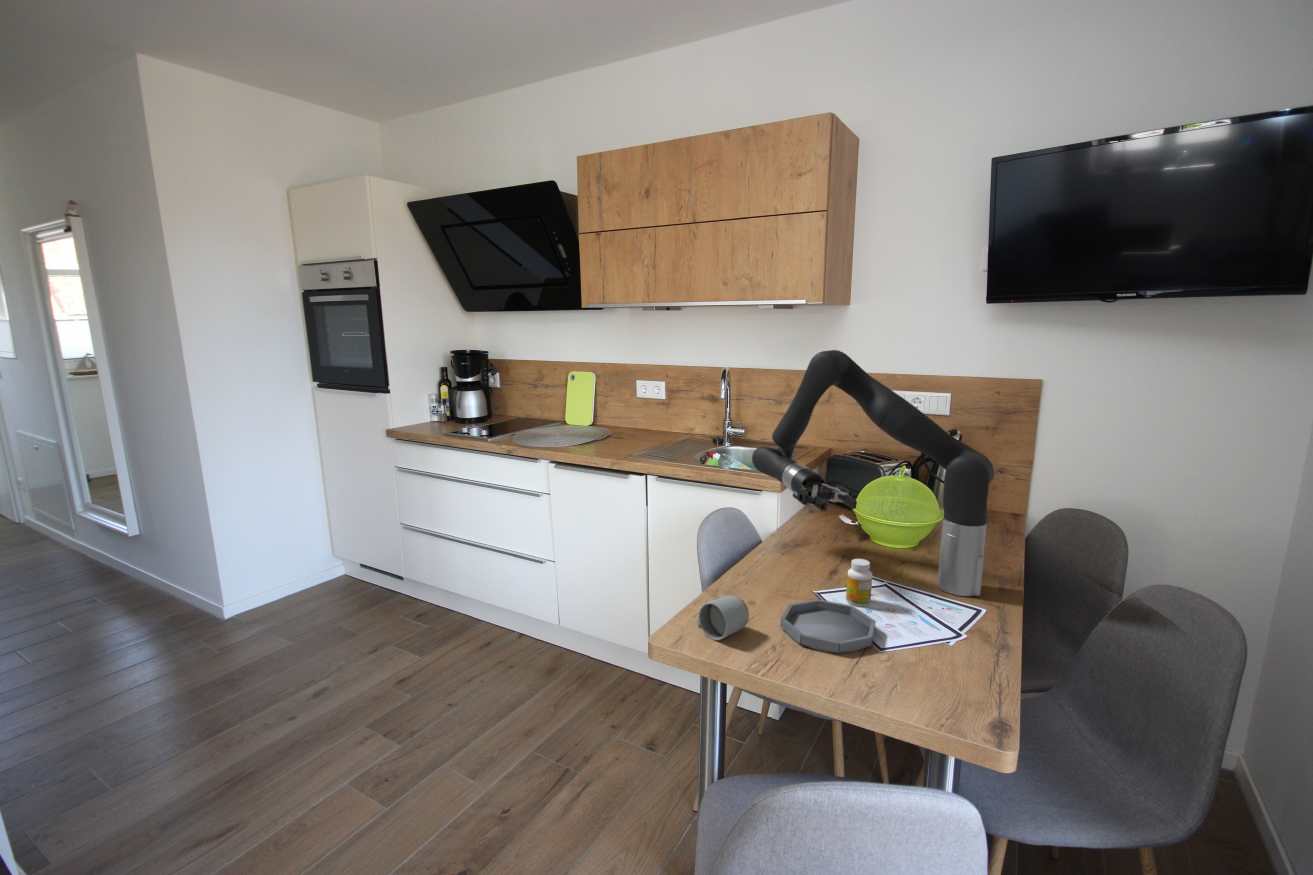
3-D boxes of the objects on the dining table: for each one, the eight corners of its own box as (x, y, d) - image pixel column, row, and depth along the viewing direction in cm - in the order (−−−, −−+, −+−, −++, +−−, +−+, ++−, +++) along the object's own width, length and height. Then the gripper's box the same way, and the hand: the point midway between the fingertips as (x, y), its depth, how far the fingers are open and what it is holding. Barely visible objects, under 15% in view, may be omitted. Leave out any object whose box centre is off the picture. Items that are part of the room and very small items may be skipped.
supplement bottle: (842, 597, 142) (844, 557, 140) (864, 596, 142) (867, 557, 140) (851, 607, 136) (854, 566, 135) (874, 606, 137) (877, 565, 135)
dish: (877, 620, 130) (878, 610, 130) (868, 661, 114) (868, 649, 114) (793, 604, 137) (794, 594, 137) (773, 640, 121) (774, 629, 121)
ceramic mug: (751, 632, 125) (752, 597, 124) (726, 646, 119) (726, 609, 118) (712, 615, 132) (712, 582, 131) (686, 628, 127) (686, 593, 126)
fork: (895, 538, 184) (896, 532, 184) (837, 521, 199) (837, 515, 199) (900, 535, 187) (901, 530, 186) (842, 519, 201) (843, 513, 201)
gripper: (781, 468, 155) (818, 493, 141) (827, 466, 160) (867, 490, 146) (777, 495, 157) (812, 522, 143) (822, 493, 162) (861, 518, 148)
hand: (840, 506), depth 144 cm, fingers open, 8 cm apart
